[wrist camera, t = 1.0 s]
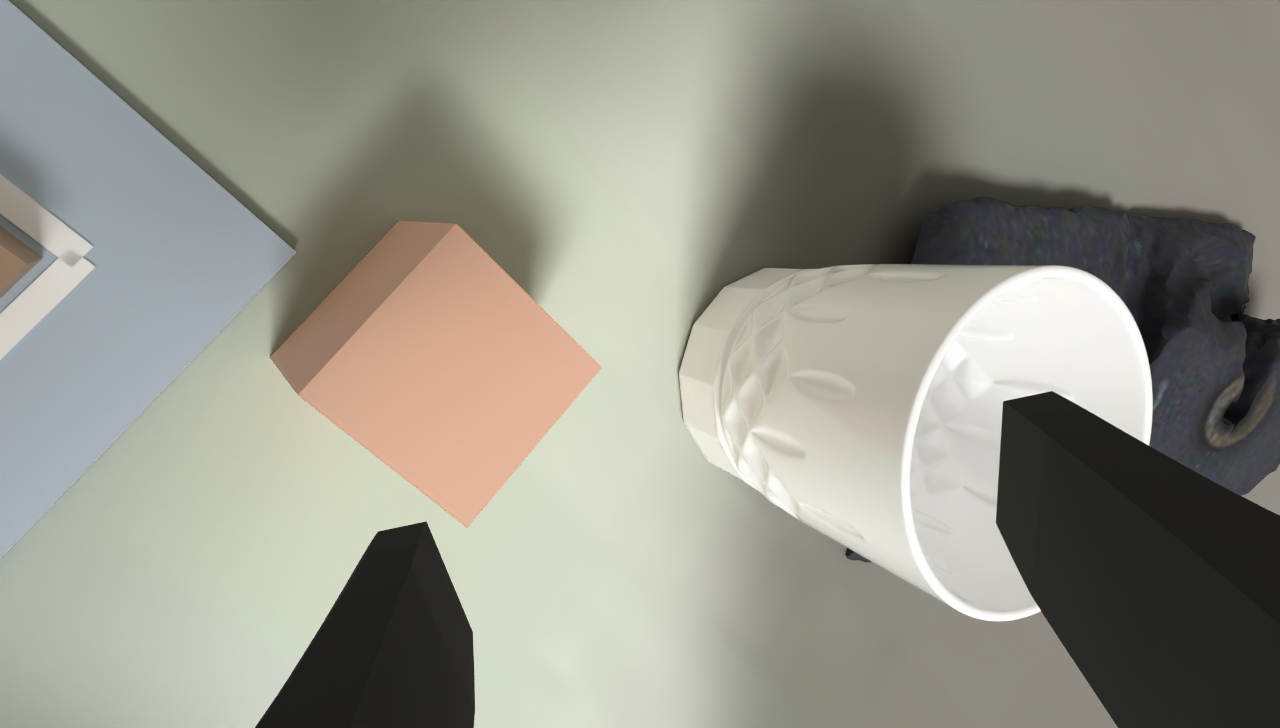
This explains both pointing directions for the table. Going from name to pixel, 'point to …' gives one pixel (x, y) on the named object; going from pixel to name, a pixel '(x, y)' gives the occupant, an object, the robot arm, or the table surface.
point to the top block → (437, 364)
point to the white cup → (905, 402)
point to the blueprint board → (100, 268)
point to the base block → (14, 260)
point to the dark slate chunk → (1153, 317)
